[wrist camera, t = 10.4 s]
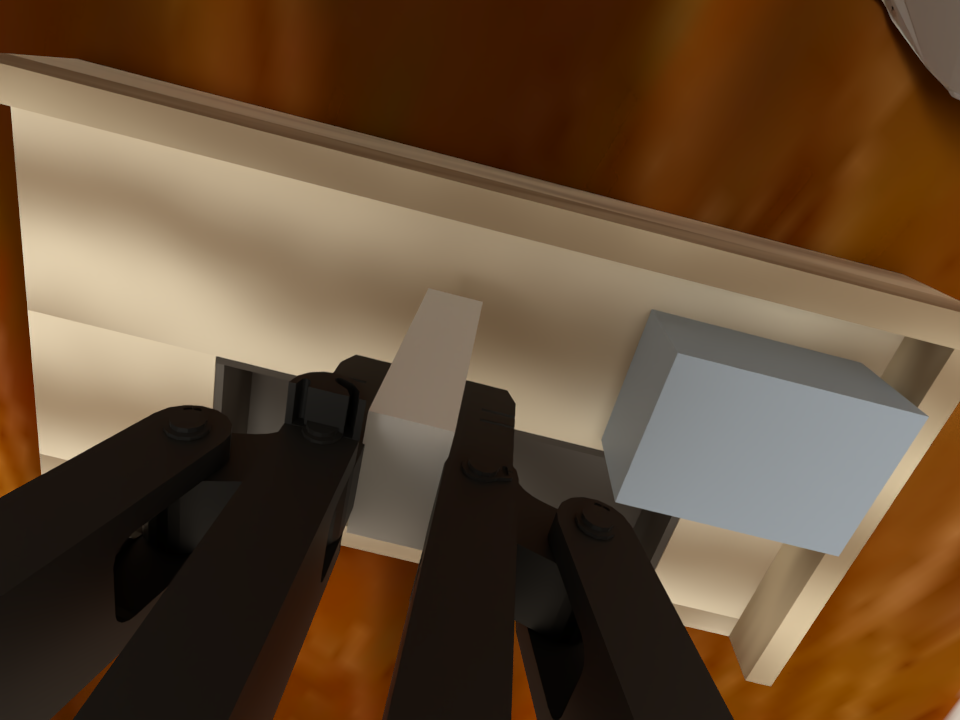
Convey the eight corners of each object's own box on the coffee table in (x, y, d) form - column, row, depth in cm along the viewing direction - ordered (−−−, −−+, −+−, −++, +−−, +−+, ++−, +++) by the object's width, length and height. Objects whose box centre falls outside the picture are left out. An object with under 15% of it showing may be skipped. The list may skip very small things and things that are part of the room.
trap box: (77, 59, 20) (-56, 49, 15) (903, 274, 21) (1009, 325, 16) (92, 434, 26) (0, 507, 21) (729, 586, 27) (770, 686, 22)
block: (651, 308, 19) (677, 353, 16) (861, 362, 19) (929, 416, 16) (601, 439, 21) (615, 501, 18) (791, 486, 21) (838, 556, 18)
